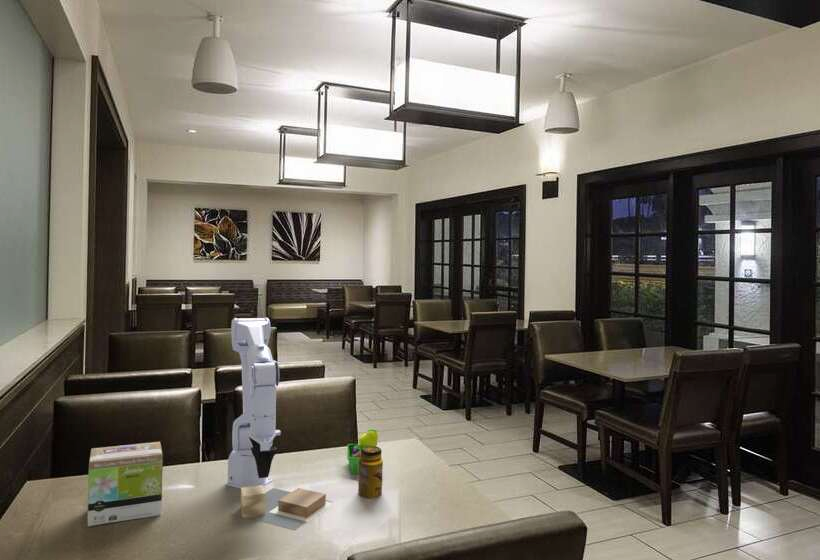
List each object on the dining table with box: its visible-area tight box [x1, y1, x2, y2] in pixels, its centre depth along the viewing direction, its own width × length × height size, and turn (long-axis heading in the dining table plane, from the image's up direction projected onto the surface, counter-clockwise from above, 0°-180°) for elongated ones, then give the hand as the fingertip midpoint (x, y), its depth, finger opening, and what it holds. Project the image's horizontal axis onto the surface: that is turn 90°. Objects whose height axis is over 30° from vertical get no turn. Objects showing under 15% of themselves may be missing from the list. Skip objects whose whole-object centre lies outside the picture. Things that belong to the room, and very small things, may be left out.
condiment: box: [357, 446, 384, 499], centre depth 142 cm, size 7×8×12 cm
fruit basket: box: [346, 428, 379, 474], centre depth 161 cm, size 11×9×11 cm
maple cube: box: [240, 485, 266, 519], centre depth 131 cm, size 5×5×5 cm
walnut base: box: [278, 487, 327, 518], centre depth 134 cm, size 8×8×2 cm
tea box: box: [87, 441, 164, 528], centre depth 129 cm, size 15×10×15 cm
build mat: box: [230, 487, 335, 531], centre depth 133 cm, size 18×16×1 cm
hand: (262, 471), depth 131 cm, fingers open, 7 cm apart
